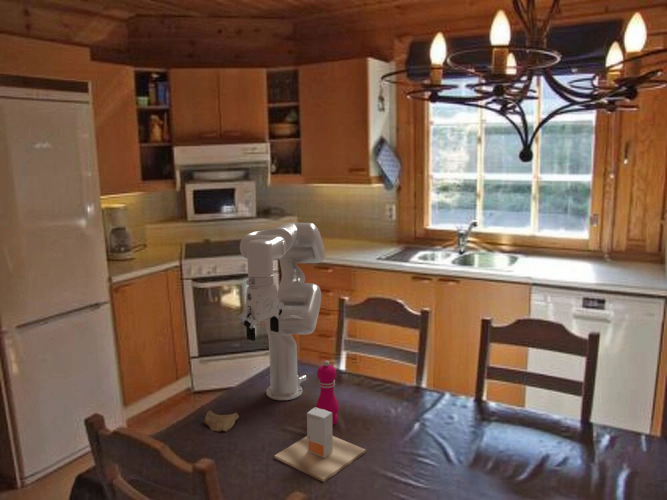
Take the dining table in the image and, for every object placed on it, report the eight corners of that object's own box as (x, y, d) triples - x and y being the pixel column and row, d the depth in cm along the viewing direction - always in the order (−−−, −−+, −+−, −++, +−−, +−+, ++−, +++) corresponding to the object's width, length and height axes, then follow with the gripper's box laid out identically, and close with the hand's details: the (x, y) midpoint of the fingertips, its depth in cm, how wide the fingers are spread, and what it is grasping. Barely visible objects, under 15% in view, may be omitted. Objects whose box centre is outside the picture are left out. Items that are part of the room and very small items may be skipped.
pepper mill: (342, 424, 170) (341, 363, 166) (320, 428, 167) (319, 366, 164) (334, 413, 176) (333, 355, 173) (312, 418, 174) (311, 358, 170)
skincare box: (307, 452, 153) (305, 412, 151) (315, 445, 156) (314, 406, 154) (324, 458, 149) (324, 418, 147) (333, 451, 153) (332, 411, 151)
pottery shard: (240, 421, 176) (211, 411, 178) (242, 409, 175) (213, 400, 176) (227, 440, 166) (197, 430, 167) (229, 427, 165) (199, 417, 166)
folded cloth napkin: (317, 432, 165) (317, 429, 165) (365, 452, 154) (365, 449, 154) (274, 458, 152) (274, 455, 152) (323, 482, 140) (323, 479, 140)
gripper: (247, 288, 155) (250, 346, 158) (290, 277, 168) (291, 330, 171) (230, 284, 160) (233, 340, 163) (273, 273, 173) (274, 325, 176)
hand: (263, 335), depth 167 cm, fingers open, 9 cm apart
